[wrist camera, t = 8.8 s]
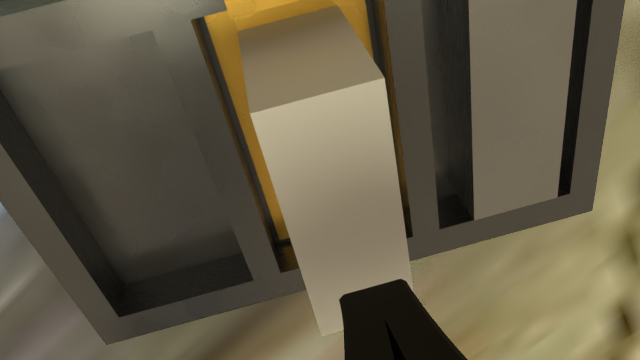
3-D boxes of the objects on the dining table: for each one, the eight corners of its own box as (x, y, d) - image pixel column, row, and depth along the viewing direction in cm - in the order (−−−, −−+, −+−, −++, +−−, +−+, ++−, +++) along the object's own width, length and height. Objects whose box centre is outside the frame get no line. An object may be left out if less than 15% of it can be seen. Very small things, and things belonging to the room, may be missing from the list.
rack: (563, 180, 22) (604, 224, 20) (113, 304, 21) (103, 363, 19) (600, -158, 15) (671, -149, 12) (-80, 17, 14) (-133, 59, 12)
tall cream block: (373, 208, 20) (416, 310, 16) (297, 229, 20) (321, 336, 16) (337, 4, 15) (384, 77, 11) (237, 31, 15) (249, 113, 11)
